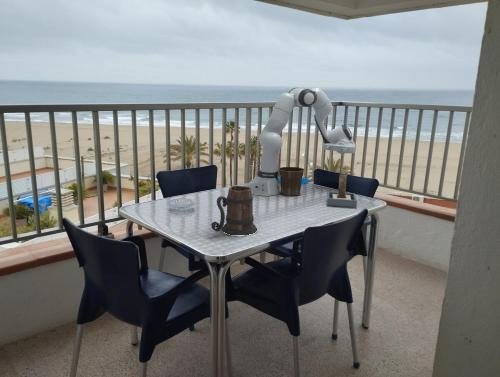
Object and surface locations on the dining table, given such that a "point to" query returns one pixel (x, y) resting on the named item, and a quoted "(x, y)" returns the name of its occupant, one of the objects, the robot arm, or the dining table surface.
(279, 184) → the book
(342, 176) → the peg
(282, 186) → the plant pot
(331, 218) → the dining table surface
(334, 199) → the tray
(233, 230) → the tankard
